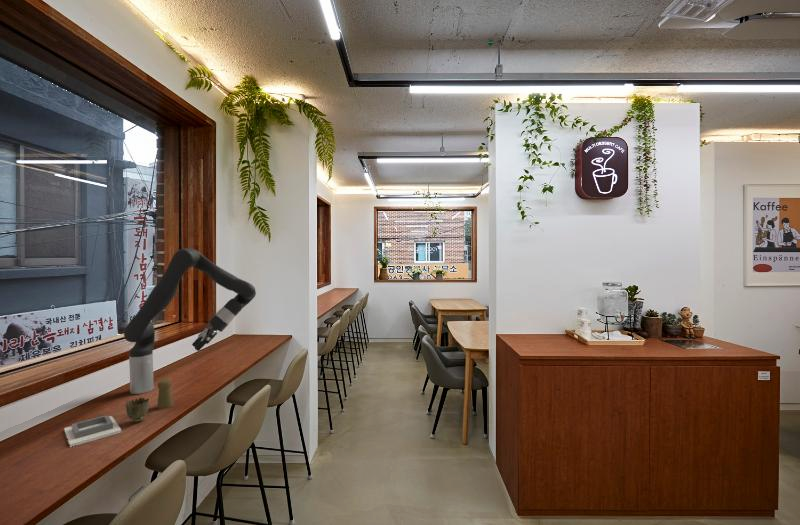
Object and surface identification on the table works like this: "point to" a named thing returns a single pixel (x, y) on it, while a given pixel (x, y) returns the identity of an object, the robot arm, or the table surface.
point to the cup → (137, 409)
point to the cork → (164, 394)
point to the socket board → (91, 430)
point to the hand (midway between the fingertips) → (194, 347)
